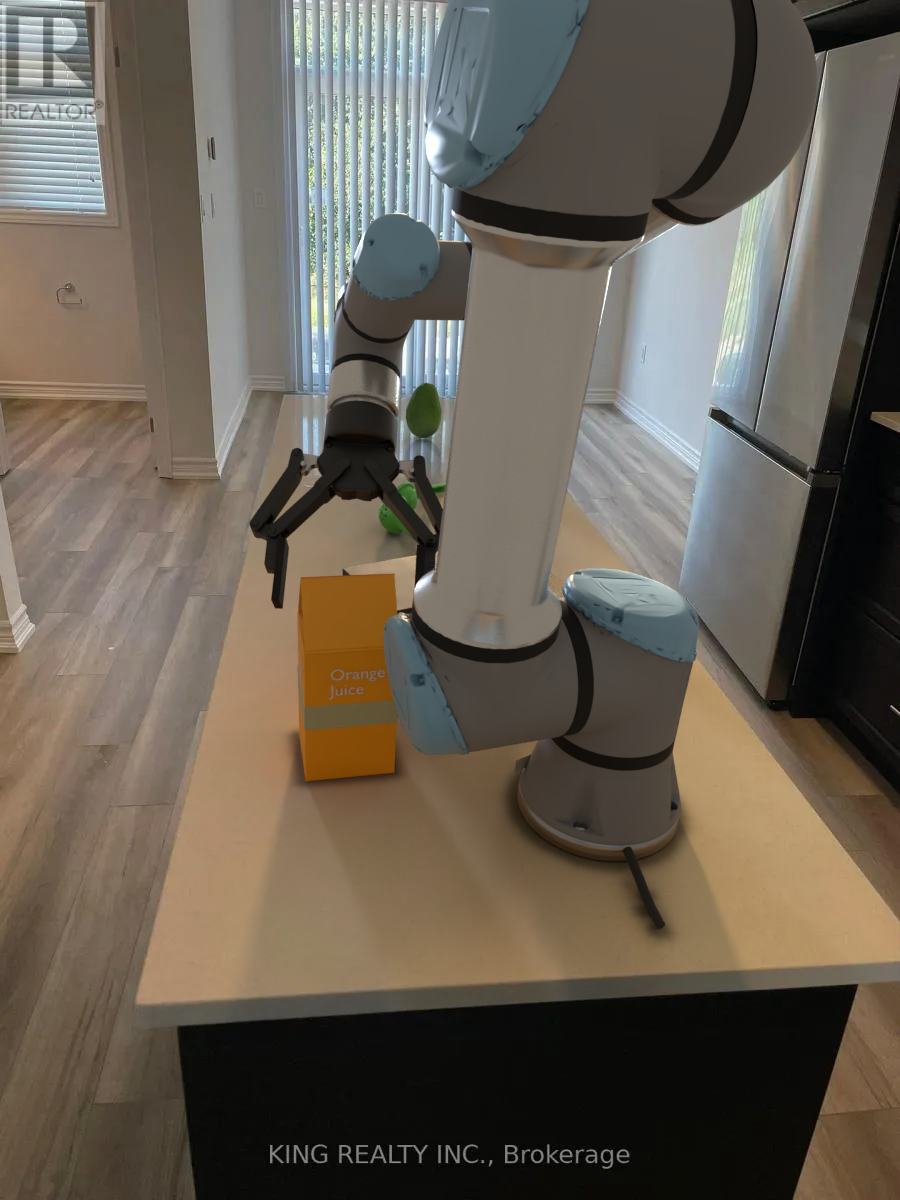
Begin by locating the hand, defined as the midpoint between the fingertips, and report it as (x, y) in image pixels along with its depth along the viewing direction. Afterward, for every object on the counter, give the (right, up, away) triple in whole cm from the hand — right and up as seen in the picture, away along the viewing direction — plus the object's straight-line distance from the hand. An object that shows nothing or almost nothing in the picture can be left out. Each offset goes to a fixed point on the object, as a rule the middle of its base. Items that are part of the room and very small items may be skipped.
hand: (347, 608), depth 84 cm
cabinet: (+6, -5, +24) cm, 25 cm away
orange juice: (-1, -15, +4) cm, 15 cm away
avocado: (+4, +42, +104) cm, 113 cm away
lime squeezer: (+4, +13, +60) cm, 62 cm away
